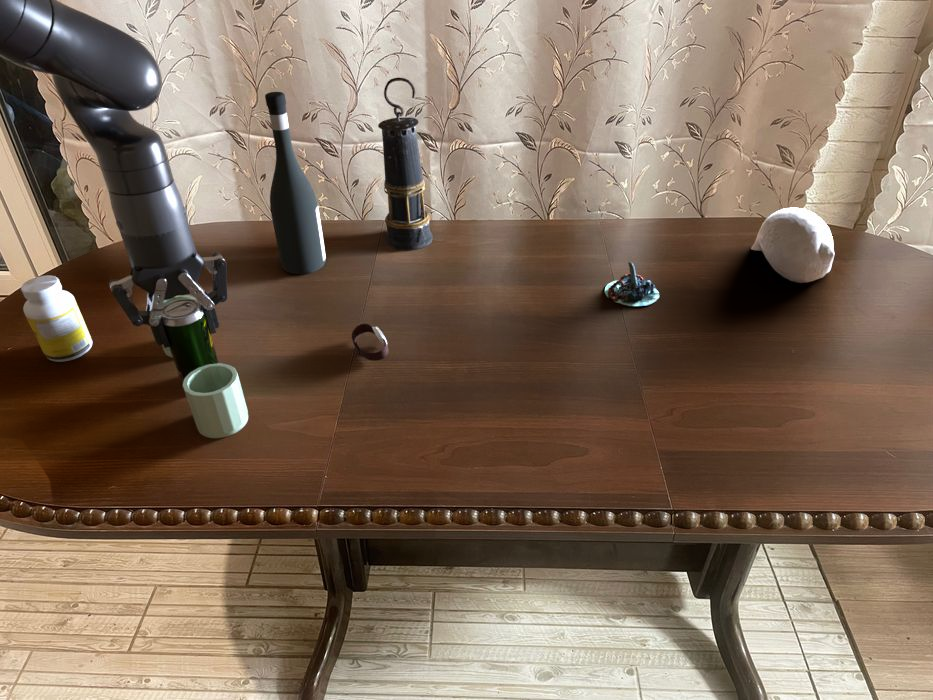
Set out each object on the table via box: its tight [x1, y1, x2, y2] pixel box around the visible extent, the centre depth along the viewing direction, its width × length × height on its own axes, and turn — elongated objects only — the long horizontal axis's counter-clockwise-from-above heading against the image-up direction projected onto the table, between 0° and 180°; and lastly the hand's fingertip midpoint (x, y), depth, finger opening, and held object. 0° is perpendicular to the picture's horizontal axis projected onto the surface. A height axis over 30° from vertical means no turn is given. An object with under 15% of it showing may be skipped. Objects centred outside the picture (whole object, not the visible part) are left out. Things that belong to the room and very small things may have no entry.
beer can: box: [161, 299, 220, 385], centre depth 88 cm, size 5×5×12 cm
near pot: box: [182, 362, 249, 439], centre depth 83 cm, size 6×6×7 cm
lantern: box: [377, 77, 434, 251], centre depth 118 cm, size 9×9×30 cm
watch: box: [351, 323, 389, 362], centre depth 96 cm, size 8×5×4 cm, turn 33°
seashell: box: [750, 207, 835, 284], centre depth 115 cm, size 15×14×15 cm
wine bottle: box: [264, 91, 327, 275], centre depth 109 cm, size 8×8×30 cm
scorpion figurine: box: [604, 260, 660, 307], centre depth 109 cm, size 8×7×8 cm
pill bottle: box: [20, 275, 93, 363], centre depth 94 cm, size 6×6×12 cm
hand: (189, 337), depth 87 cm, fingers closed on beer can, 5 cm apart
